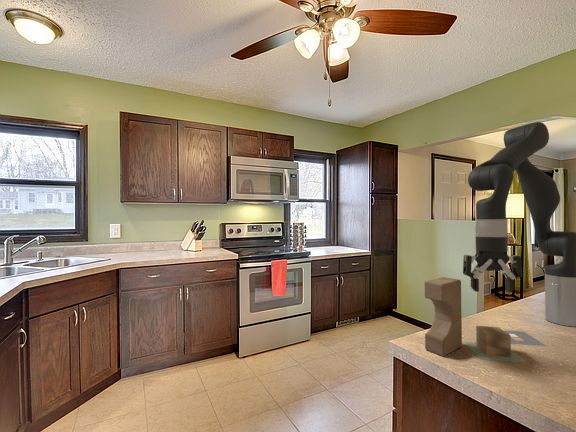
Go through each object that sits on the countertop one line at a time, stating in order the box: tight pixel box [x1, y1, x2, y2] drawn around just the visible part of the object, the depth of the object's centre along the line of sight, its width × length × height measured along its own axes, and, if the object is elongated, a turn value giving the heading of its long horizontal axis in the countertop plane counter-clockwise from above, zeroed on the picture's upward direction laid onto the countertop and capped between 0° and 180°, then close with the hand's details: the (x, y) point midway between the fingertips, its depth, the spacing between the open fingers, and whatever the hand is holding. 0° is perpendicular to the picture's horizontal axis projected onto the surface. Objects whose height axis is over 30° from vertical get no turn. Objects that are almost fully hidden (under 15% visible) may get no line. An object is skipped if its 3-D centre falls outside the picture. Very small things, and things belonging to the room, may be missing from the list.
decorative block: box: [423, 276, 463, 357], centre depth 84 cm, size 11×6×20 cm, turn 124°
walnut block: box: [475, 325, 512, 357], centre depth 81 cm, size 6×6×6 cm
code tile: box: [503, 329, 547, 347], centre depth 91 cm, size 11×11×1 cm
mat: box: [463, 341, 528, 363], centre depth 81 cm, size 11×11×1 cm
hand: (492, 291), depth 82 cm, fingers open, 8 cm apart
